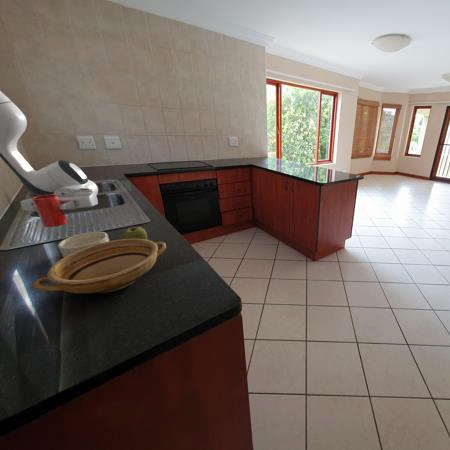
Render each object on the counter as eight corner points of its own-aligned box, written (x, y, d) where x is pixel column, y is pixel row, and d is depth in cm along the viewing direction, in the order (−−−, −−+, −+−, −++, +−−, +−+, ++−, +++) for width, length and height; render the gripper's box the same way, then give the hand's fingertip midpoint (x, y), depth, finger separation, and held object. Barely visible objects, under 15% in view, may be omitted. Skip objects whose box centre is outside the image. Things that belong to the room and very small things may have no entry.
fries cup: (39, 228, 80) (26, 199, 77) (51, 221, 86) (39, 195, 82) (61, 226, 82) (49, 198, 78) (71, 220, 87) (61, 193, 84)
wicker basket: (50, 333, 51) (35, 304, 48) (39, 287, 66) (27, 262, 63) (185, 274, 72) (181, 251, 69) (154, 249, 87) (149, 229, 83)
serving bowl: (53, 262, 77) (48, 250, 76) (75, 244, 89) (71, 233, 87) (101, 257, 81) (97, 245, 79) (116, 240, 93) (113, 230, 91)
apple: (124, 253, 84) (118, 235, 81) (127, 244, 90) (122, 226, 87) (148, 248, 87) (144, 231, 84) (150, 240, 93) (145, 223, 91)
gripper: (33, 191, 89) (3, 202, 77) (98, 188, 95) (80, 197, 83) (39, 207, 91) (12, 220, 79) (102, 203, 97) (86, 214, 85)
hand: (47, 208), depth 81 cm, fingers closed on fries cup, 6 cm apart
